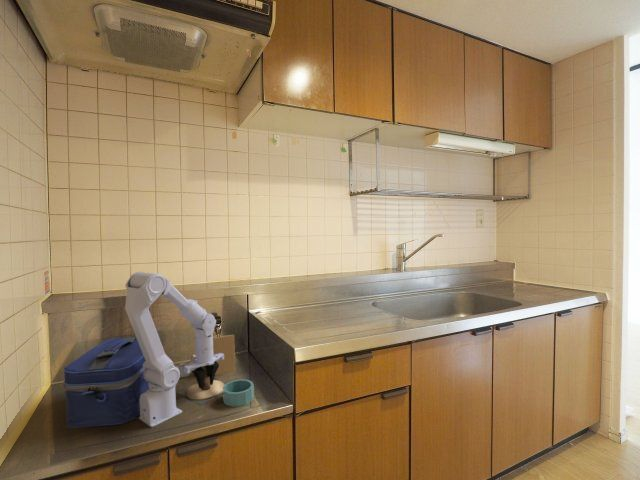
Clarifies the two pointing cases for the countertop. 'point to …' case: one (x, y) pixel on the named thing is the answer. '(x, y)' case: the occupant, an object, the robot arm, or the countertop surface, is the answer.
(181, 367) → the lighter
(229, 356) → the sandwich container
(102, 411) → the lunch bag
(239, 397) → the bowl
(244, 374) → the countertop surface
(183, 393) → the mat
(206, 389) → the lid
